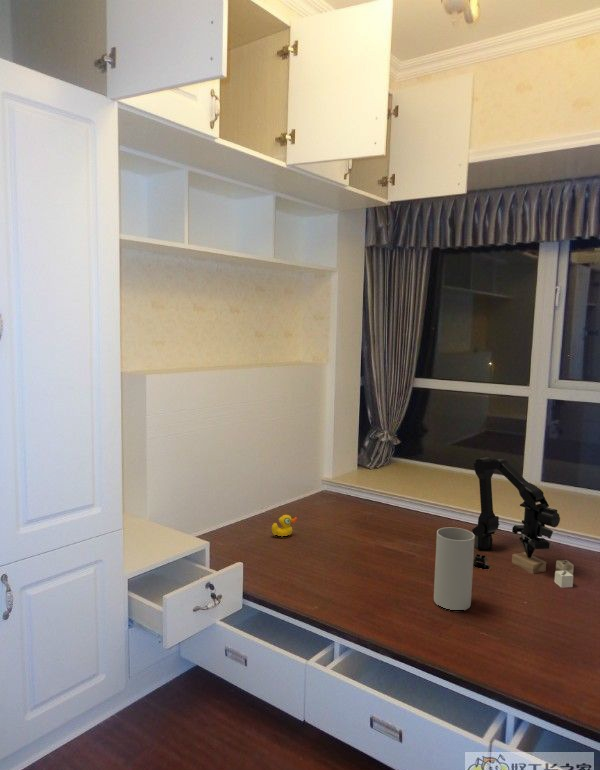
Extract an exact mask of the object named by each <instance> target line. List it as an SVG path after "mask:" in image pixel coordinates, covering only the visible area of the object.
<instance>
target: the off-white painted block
mask: <svg viewBox="0 0 600 770" xmlns="http://www.w3.org/2000/svg"><path fill="white" fill-rule="evenodd" d="M554 583H555V584H556V585H558V586H559V587H560V588H563V589H564V588H573V586H574V585H573V584H574V574H573V575H572V574H570V573H569V572H568V571H556V570H555V572H554Z"/></svg>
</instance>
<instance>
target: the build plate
mask: <svg viewBox="0 0 600 770" xmlns="http://www.w3.org/2000/svg"><path fill="white" fill-rule="evenodd" d="M473 561H474V562H473V566H475V567H478V568H477V569H479V568H482V569H481V570H484V569H489V568H490V565H489V564H487V562H488V559H487V556H486V555H483V554H482V555H481V554H478V553H476V555H475V556H474V557H473ZM475 567H474V568H475Z"/></svg>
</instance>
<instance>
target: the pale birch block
mask: <svg viewBox="0 0 600 770" xmlns="http://www.w3.org/2000/svg"><path fill="white" fill-rule="evenodd" d="M555 562H556V563H555V571H568V572H569V573H570V574H572V575H573V576H574V567H575V564H573V563H572V562H570V561H569V560H567V559H564V560H556V561H555Z"/></svg>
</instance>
